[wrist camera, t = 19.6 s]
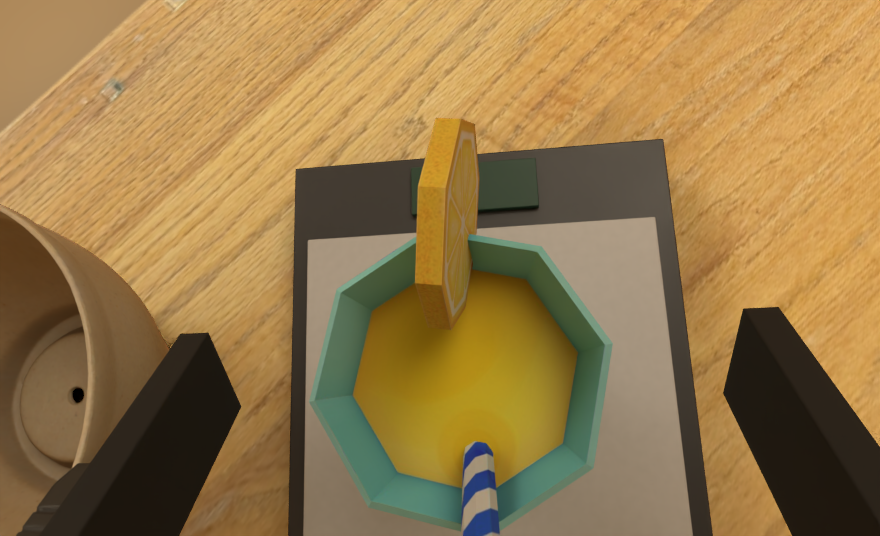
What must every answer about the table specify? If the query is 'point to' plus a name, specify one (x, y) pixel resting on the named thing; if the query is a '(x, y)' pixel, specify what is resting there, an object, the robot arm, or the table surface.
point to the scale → (594, 281)
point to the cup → (461, 365)
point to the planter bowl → (61, 360)
